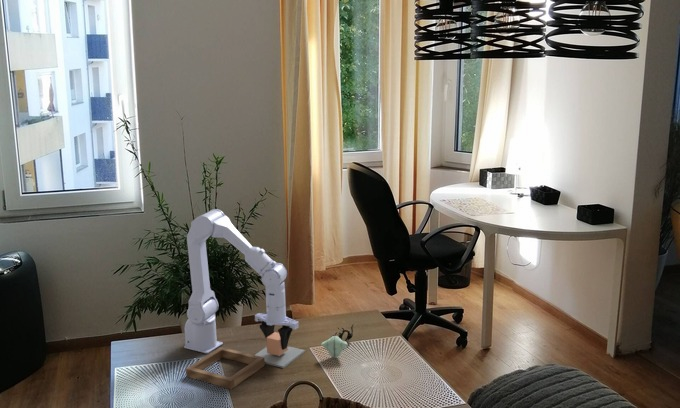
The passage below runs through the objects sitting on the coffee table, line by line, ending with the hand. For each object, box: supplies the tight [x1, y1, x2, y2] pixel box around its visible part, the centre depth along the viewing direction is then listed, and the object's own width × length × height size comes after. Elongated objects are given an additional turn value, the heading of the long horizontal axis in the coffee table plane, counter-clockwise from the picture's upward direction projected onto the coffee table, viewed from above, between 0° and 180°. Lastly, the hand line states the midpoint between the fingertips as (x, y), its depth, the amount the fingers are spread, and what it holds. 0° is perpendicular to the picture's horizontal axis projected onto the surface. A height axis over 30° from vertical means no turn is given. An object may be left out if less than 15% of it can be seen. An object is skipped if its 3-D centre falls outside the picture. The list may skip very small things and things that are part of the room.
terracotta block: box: [265, 331, 288, 356], centre depth 206 cm, size 4×4×5 cm
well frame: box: [185, 346, 266, 390], centre depth 198 cm, size 16×16×2 cm
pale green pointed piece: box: [320, 335, 348, 359], centre depth 205 cm, size 8×4×7 cm, turn 86°
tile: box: [254, 346, 306, 369], centre depth 207 cm, size 12×12×1 cm
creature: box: [329, 324, 354, 342], centre depth 216 cm, size 8×5×8 cm
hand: (277, 346), depth 206 cm, fingers closed on terracotta block, 4 cm apart
